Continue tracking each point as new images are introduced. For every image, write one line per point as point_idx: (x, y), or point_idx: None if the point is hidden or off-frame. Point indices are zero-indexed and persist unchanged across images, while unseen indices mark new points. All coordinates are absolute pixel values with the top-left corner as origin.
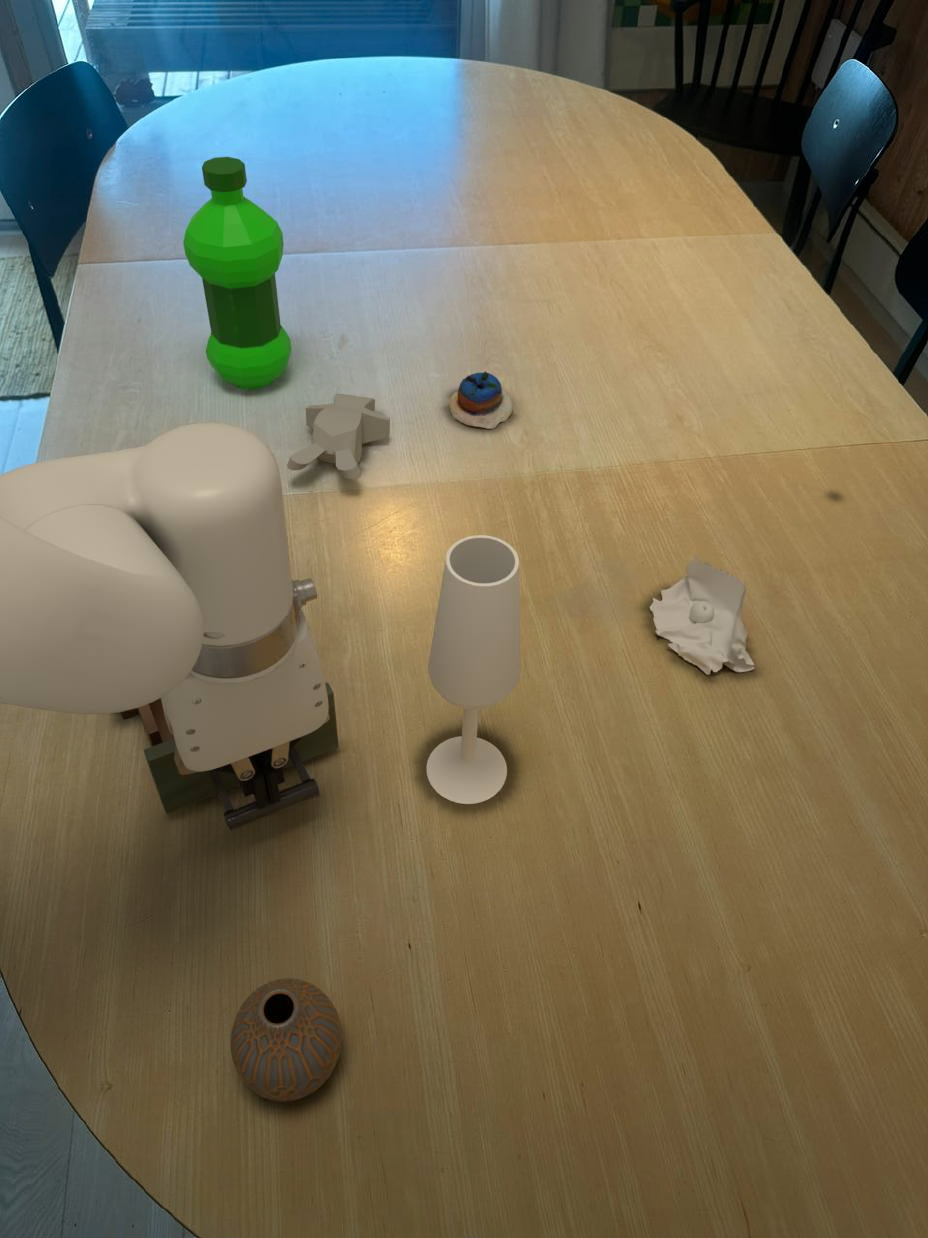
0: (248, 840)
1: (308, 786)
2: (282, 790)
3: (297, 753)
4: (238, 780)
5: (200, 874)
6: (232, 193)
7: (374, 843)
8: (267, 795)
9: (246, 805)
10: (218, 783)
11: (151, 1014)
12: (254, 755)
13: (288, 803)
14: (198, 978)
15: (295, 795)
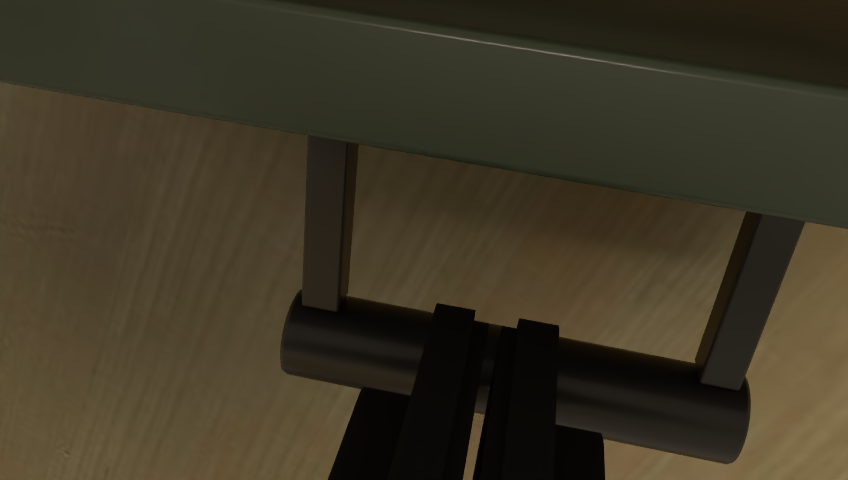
0: (426, 186)
1: (696, 444)
2: (580, 377)
3: (796, 237)
4: (361, 392)
5: (232, 199)
6: None
7: (785, 437)
8: (478, 449)
9: (391, 350)
10: (328, 152)
11: (26, 435)
12: (480, 471)
13: None
14: (146, 436)
15: (614, 439)
